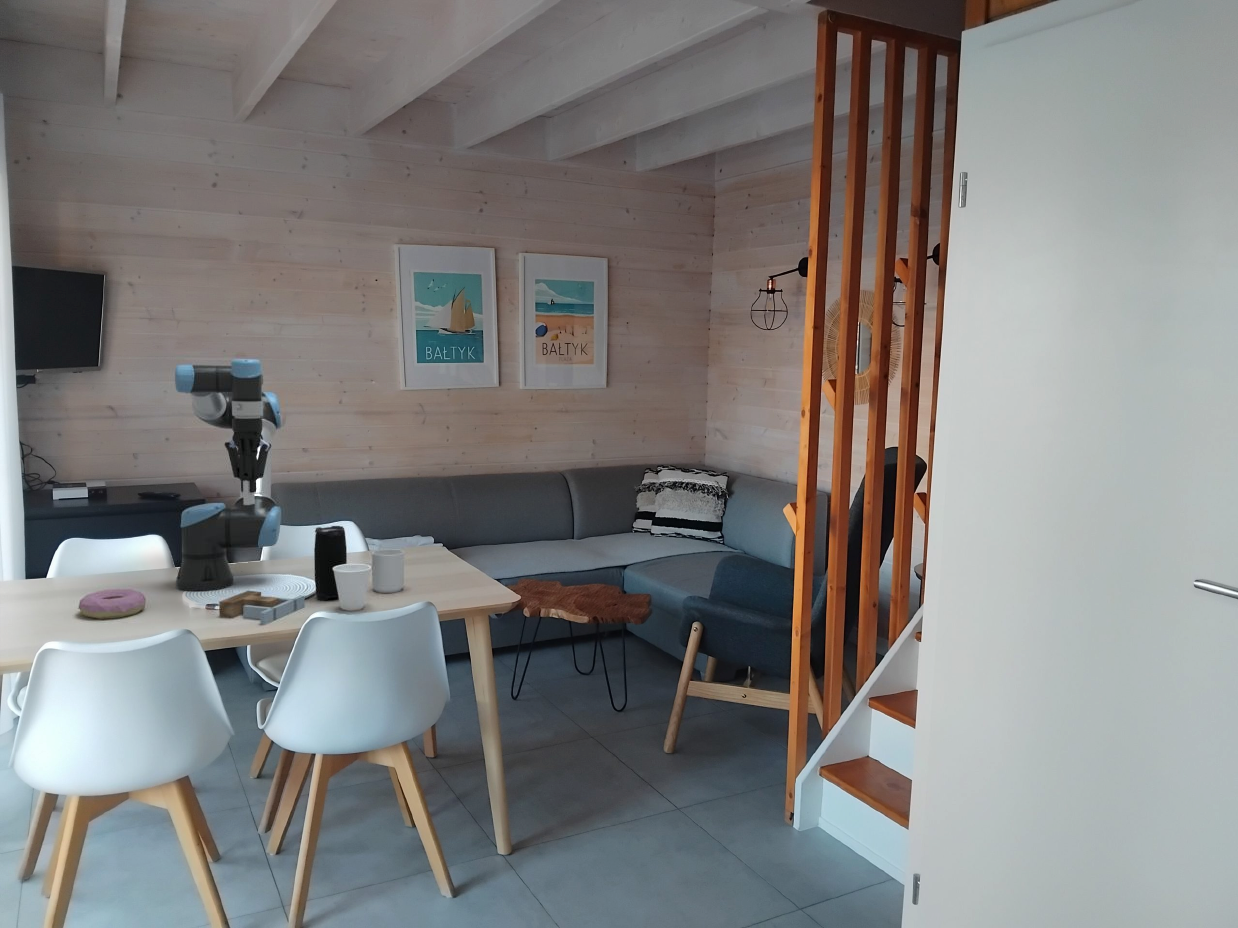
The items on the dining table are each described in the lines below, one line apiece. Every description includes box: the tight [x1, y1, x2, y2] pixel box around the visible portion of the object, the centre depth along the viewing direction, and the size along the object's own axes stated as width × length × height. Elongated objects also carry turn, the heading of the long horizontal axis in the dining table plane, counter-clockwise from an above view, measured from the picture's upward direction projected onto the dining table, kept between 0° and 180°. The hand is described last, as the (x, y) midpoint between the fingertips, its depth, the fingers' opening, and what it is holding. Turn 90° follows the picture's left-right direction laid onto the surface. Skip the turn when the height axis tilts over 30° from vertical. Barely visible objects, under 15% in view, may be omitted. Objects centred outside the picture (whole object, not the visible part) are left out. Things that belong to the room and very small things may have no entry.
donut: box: [77, 588, 147, 620], centre depth 246 cm, size 16×15×5 cm
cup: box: [333, 563, 372, 612], centre depth 255 cm, size 10×10×11 cm
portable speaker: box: [313, 525, 348, 602], centre depth 265 cm, size 9×9×20 cm
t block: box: [218, 590, 280, 619], centre depth 249 cm, size 12×12×4 cm
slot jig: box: [242, 595, 306, 626], centre depth 248 cm, size 9×18×3 cm, turn 166°
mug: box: [371, 548, 405, 594], centre depth 276 cm, size 12×9×11 cm
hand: (249, 504), depth 259 cm, fingers closed
